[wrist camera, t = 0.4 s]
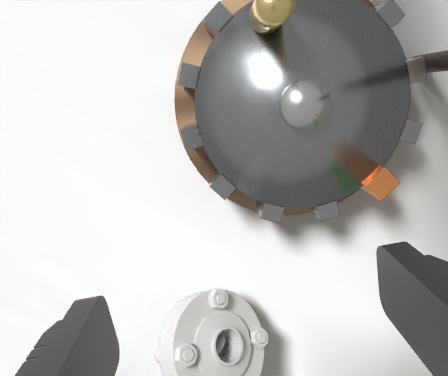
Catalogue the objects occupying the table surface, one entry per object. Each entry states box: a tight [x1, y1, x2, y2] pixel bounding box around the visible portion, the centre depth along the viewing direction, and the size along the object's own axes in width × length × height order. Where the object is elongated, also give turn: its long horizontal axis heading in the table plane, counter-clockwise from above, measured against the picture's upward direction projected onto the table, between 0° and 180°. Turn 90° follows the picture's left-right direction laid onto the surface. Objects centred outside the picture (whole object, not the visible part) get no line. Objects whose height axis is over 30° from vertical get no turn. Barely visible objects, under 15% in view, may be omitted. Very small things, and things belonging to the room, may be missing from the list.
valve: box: [155, 289, 268, 376], centre depth 40 cm, size 10×18×15 cm
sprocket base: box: [175, 0, 448, 215], centre depth 31 cm, size 22×25×11 cm
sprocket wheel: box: [178, 0, 427, 223], centre depth 31 cm, size 21×21×9 cm
